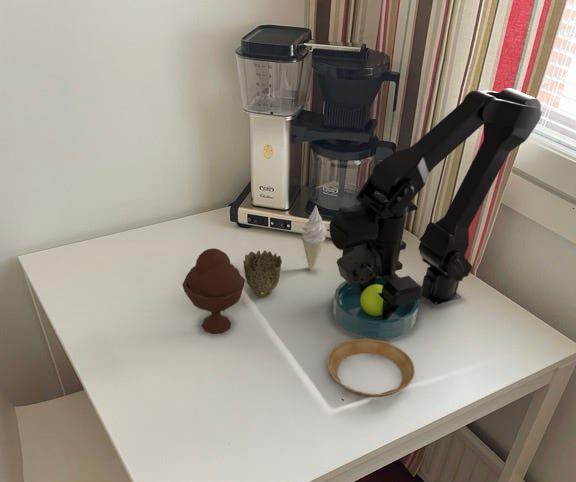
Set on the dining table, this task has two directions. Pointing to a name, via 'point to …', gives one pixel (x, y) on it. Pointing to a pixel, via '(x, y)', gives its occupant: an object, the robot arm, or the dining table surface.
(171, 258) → the dining table surface
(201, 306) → the ice cream bowl
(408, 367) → the plant saucer
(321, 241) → the ice cream cone
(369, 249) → the robot arm
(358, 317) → the glazed bowl
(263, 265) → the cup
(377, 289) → the ball
